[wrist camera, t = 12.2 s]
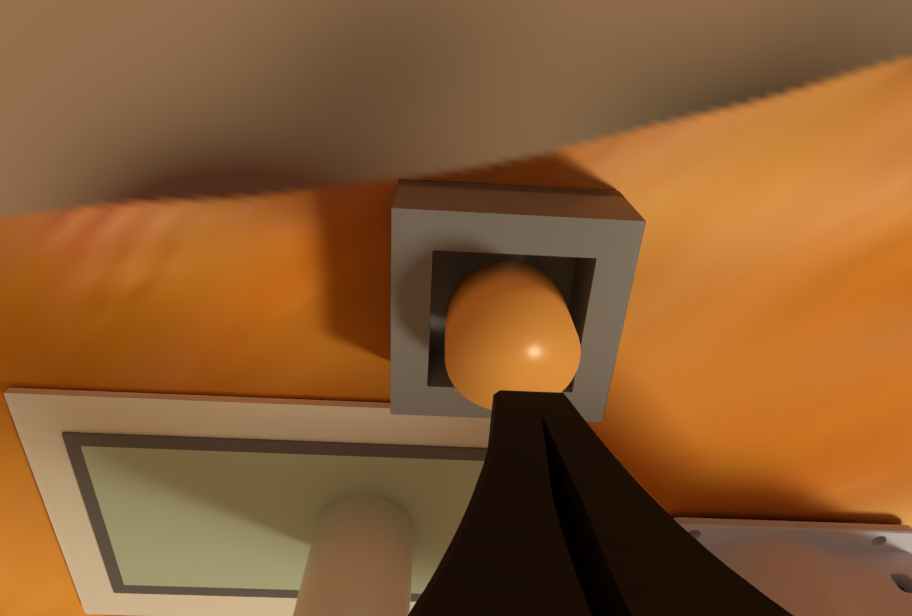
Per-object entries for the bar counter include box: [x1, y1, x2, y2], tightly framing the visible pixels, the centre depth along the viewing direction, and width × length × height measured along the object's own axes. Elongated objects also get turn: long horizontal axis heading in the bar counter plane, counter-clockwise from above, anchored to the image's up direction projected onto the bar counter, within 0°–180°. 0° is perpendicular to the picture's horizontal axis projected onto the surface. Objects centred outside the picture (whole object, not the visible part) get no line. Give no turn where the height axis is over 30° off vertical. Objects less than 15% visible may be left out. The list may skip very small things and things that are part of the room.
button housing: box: [390, 179, 646, 423], centre depth 16 cm, size 6×6×2 cm
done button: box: [445, 261, 581, 410], centre depth 15 cm, size 3×3×2 cm
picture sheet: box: [3, 387, 491, 616], centre depth 21 cm, size 18×11×1 cm, turn 87°
